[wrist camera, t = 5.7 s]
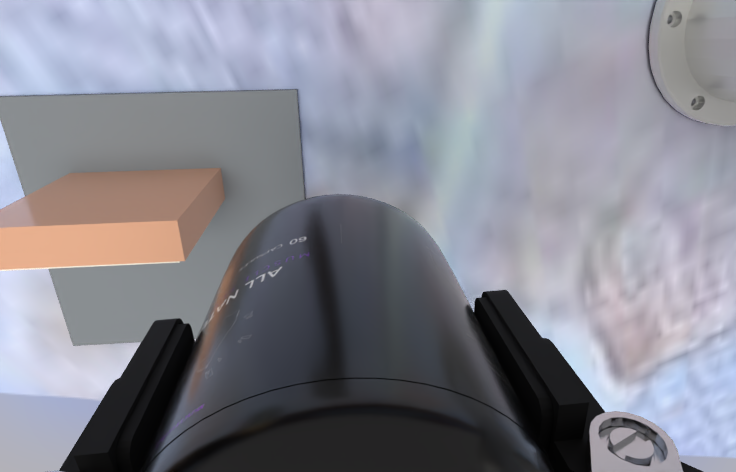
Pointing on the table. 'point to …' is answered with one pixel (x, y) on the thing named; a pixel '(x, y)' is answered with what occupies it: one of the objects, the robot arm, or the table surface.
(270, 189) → the slate mat
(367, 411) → the supplement bottle
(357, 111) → the table surface
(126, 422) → the robot arm
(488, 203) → the table surface
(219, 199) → the tile
